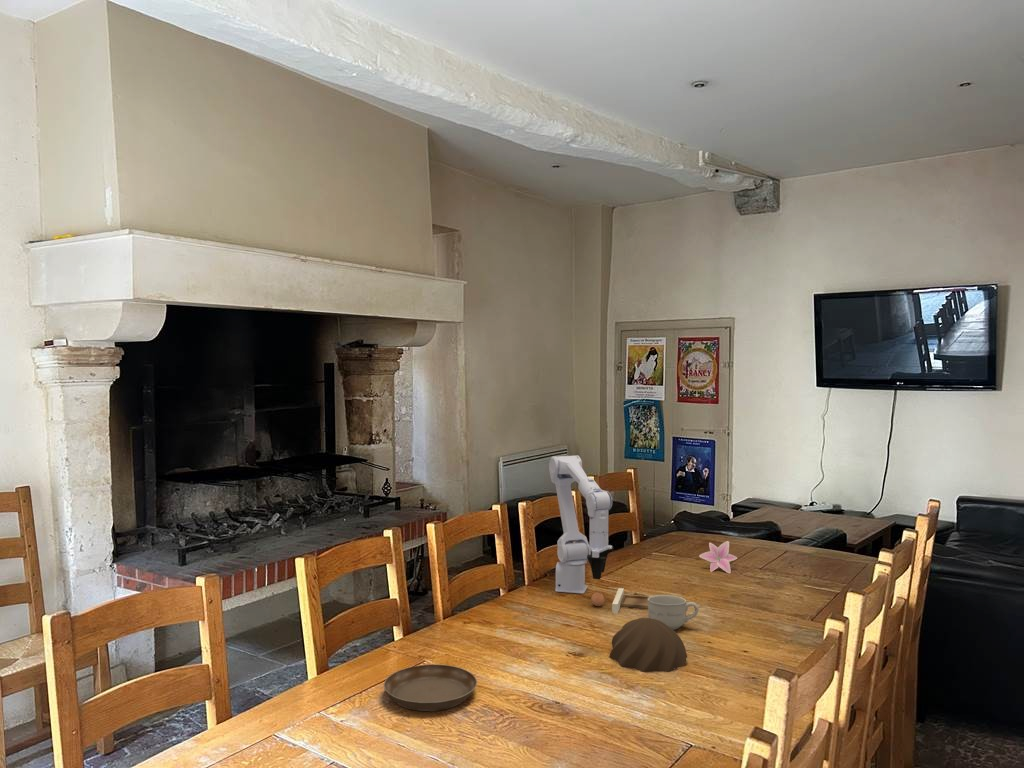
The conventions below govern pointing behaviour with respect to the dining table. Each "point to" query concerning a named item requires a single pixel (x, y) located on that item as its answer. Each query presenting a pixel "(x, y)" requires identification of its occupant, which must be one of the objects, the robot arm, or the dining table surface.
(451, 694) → the plant saucer
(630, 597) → the tray
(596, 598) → the ball
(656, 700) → the dining table surface
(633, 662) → the decorative dome
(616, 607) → the strip
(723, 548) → the lily
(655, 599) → the teacup
